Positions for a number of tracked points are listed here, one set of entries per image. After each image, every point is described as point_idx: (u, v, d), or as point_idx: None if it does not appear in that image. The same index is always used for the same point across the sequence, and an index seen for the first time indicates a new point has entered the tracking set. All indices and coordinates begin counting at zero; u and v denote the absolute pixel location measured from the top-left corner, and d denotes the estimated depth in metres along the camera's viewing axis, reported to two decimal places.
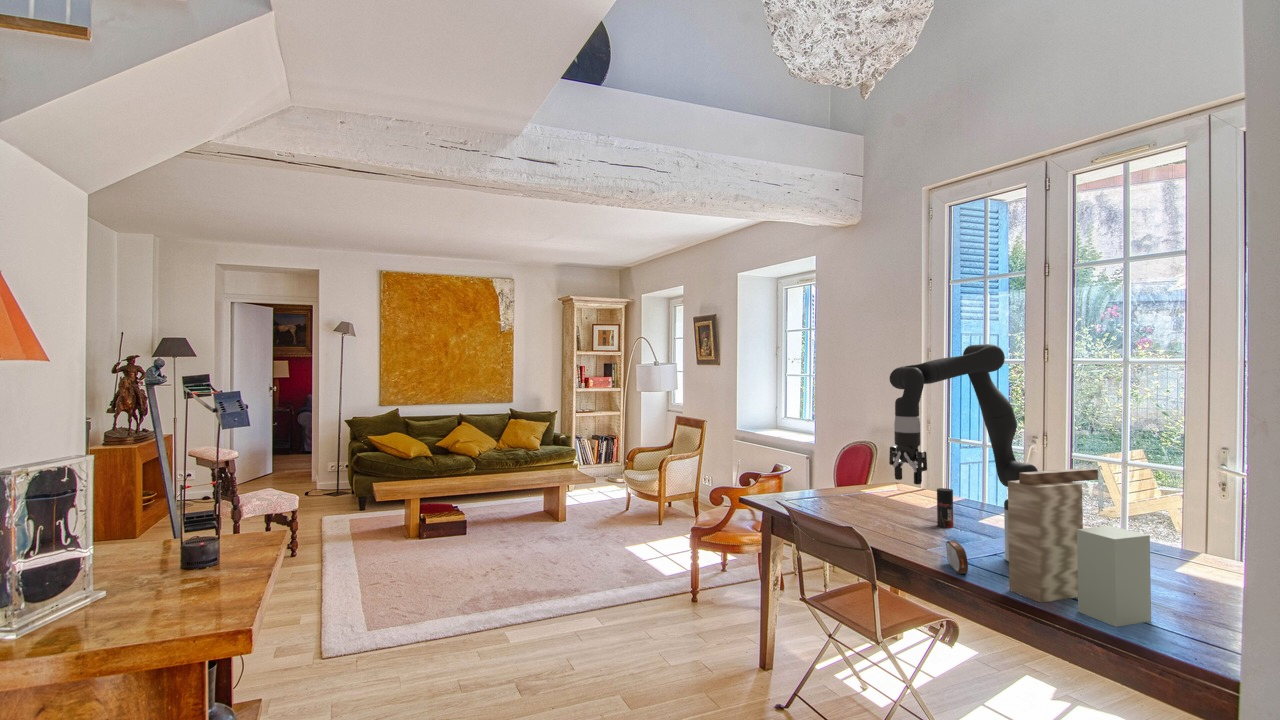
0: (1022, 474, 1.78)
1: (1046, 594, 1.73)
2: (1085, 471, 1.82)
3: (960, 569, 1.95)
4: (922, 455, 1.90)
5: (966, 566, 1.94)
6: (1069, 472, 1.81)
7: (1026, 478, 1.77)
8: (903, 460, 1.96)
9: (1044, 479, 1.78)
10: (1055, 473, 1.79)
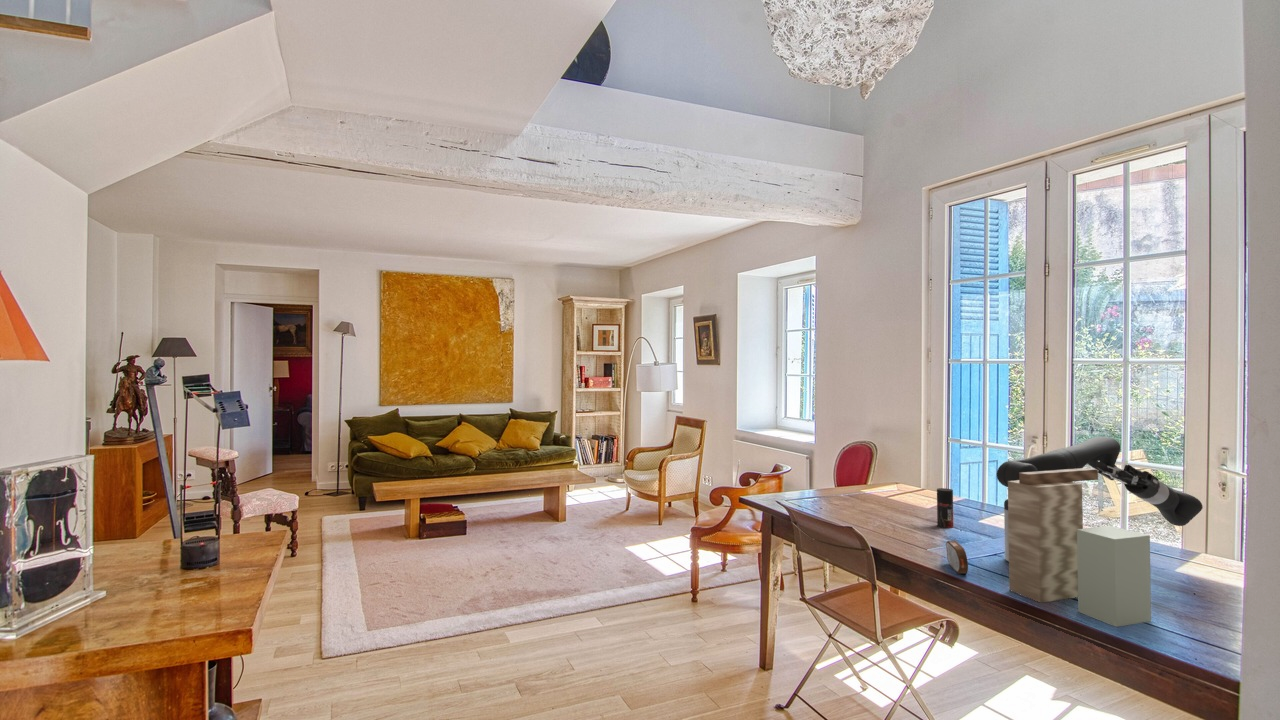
0: (1022, 474, 1.78)
1: (1046, 594, 1.73)
2: (1085, 471, 1.82)
3: (960, 569, 1.95)
4: None
5: (966, 566, 1.94)
6: (1069, 472, 1.81)
7: (1026, 478, 1.77)
8: (1127, 478, 1.89)
9: (1044, 479, 1.78)
10: (1055, 473, 1.79)
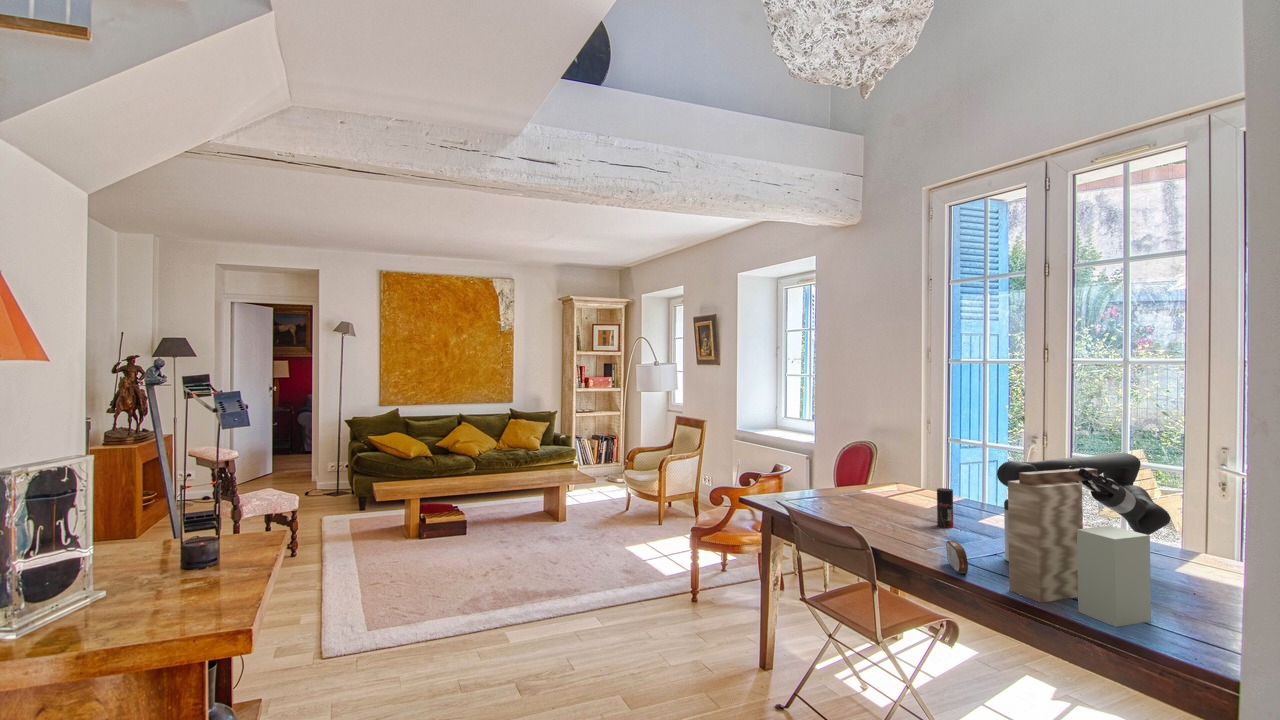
0: (1022, 474, 1.78)
1: (1046, 594, 1.73)
2: None
3: (960, 569, 1.95)
4: None
5: (966, 566, 1.94)
6: (1069, 472, 1.81)
7: (1026, 478, 1.77)
8: (1091, 485, 1.85)
9: (1044, 479, 1.78)
10: (1055, 473, 1.79)
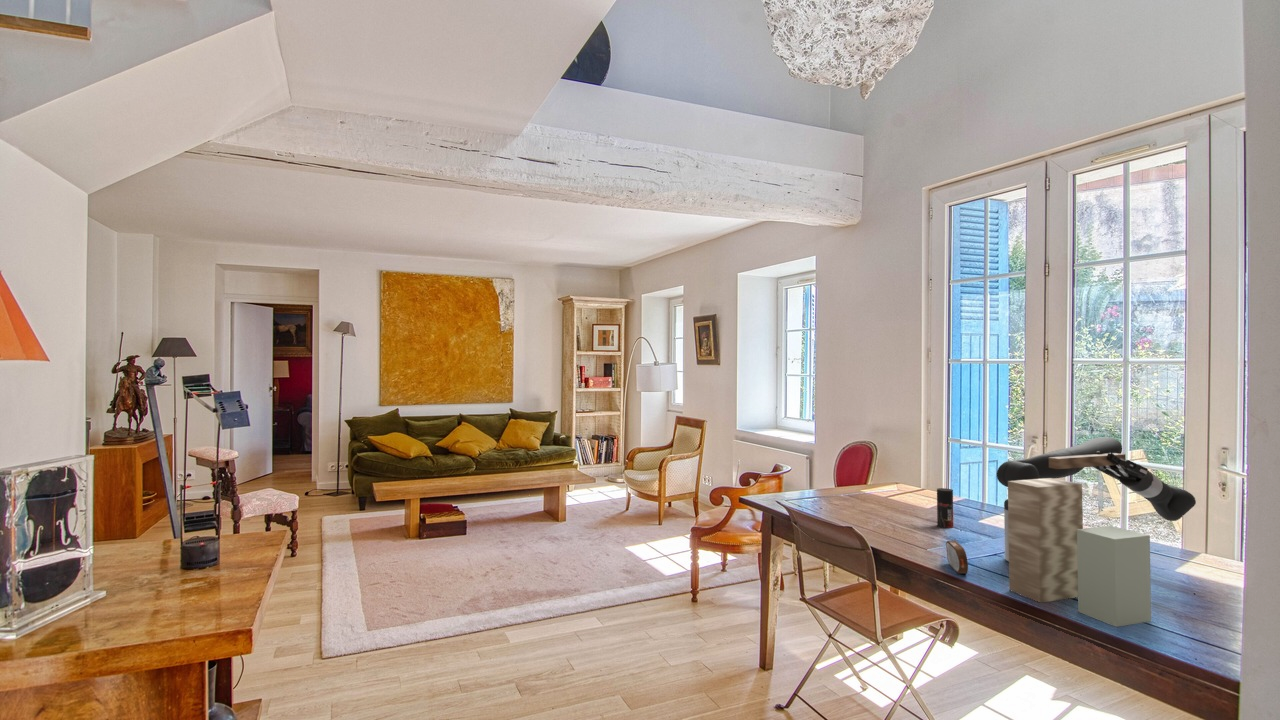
0: (1052, 459, 1.81)
1: (1046, 594, 1.73)
2: None
3: (960, 569, 1.95)
4: None
5: (966, 566, 1.94)
6: (1097, 457, 1.84)
7: (1055, 463, 1.80)
8: (1118, 470, 1.88)
9: (1074, 463, 1.81)
10: (1084, 458, 1.82)
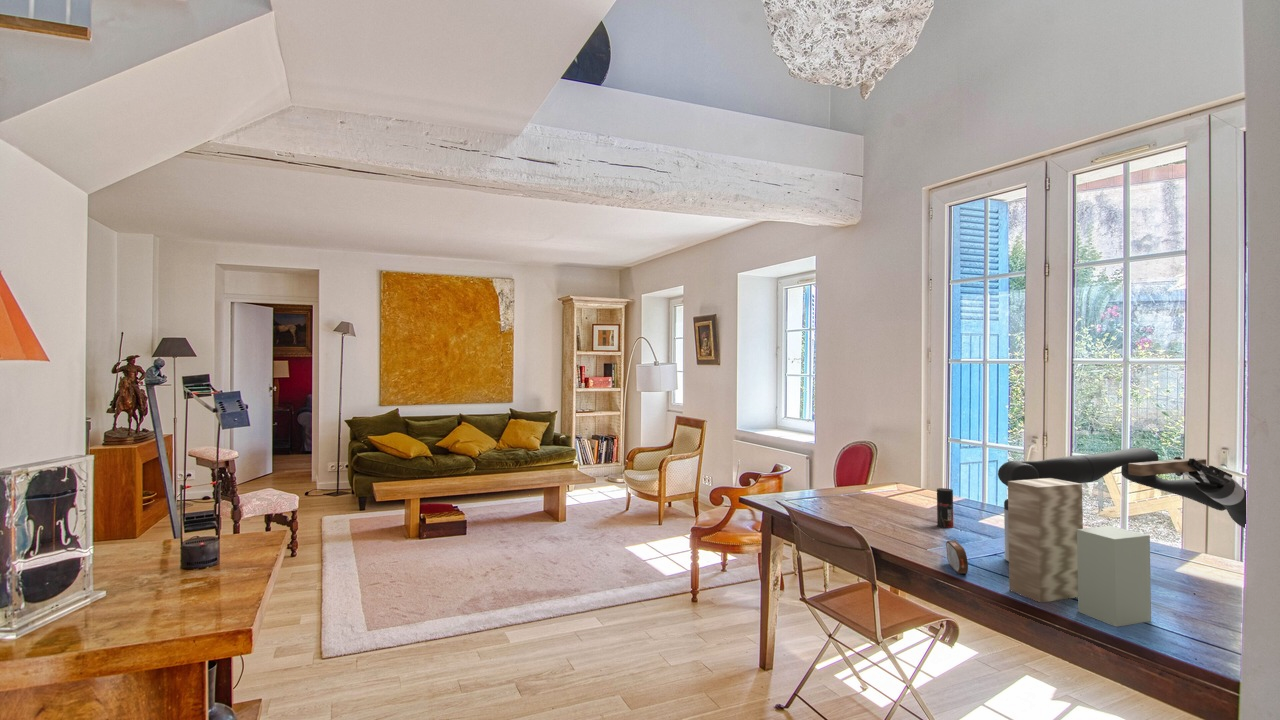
0: (1132, 465, 1.69)
1: (1046, 594, 1.73)
2: None
3: (960, 569, 1.95)
4: None
5: (966, 566, 1.94)
6: (1179, 462, 1.72)
7: (1137, 469, 1.68)
8: (1198, 476, 1.76)
9: (1155, 470, 1.69)
10: (1165, 463, 1.70)
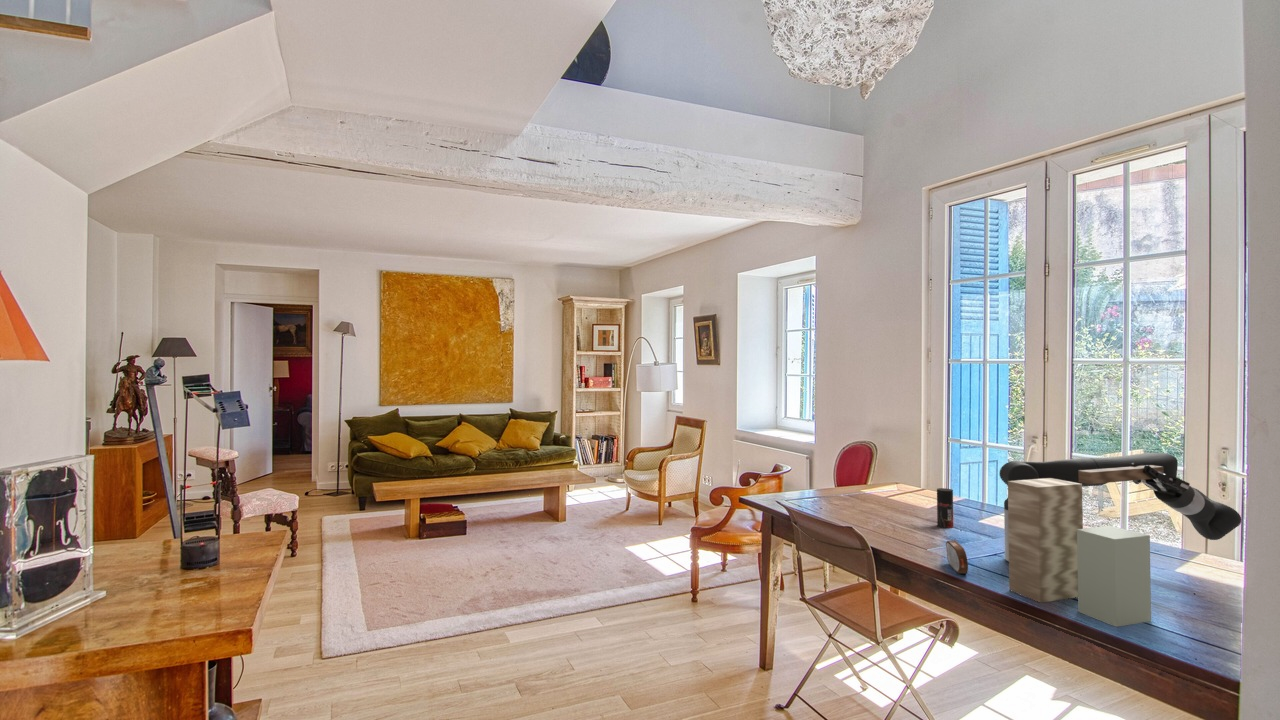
0: (1082, 472, 1.61)
1: (1046, 594, 1.73)
2: None
3: (960, 569, 1.95)
4: None
5: (966, 566, 1.94)
6: (1133, 470, 1.63)
7: (1087, 477, 1.60)
8: (1155, 484, 1.68)
9: (1107, 477, 1.61)
10: (1118, 471, 1.62)
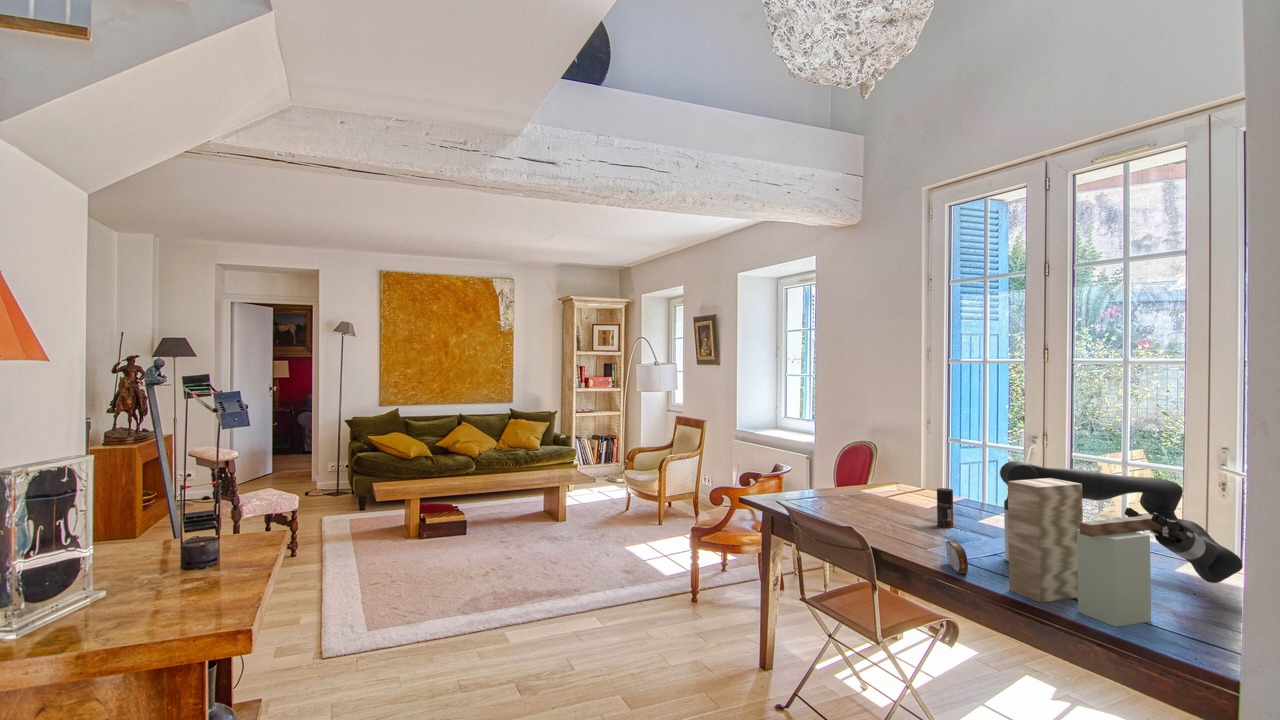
0: (1083, 524, 1.61)
1: (1046, 594, 1.73)
2: (1151, 520, 1.65)
3: (960, 569, 1.95)
4: None
5: (966, 566, 1.94)
6: (1134, 521, 1.63)
7: (1088, 529, 1.60)
8: (1157, 529, 1.67)
9: (1108, 529, 1.61)
10: (1119, 523, 1.62)
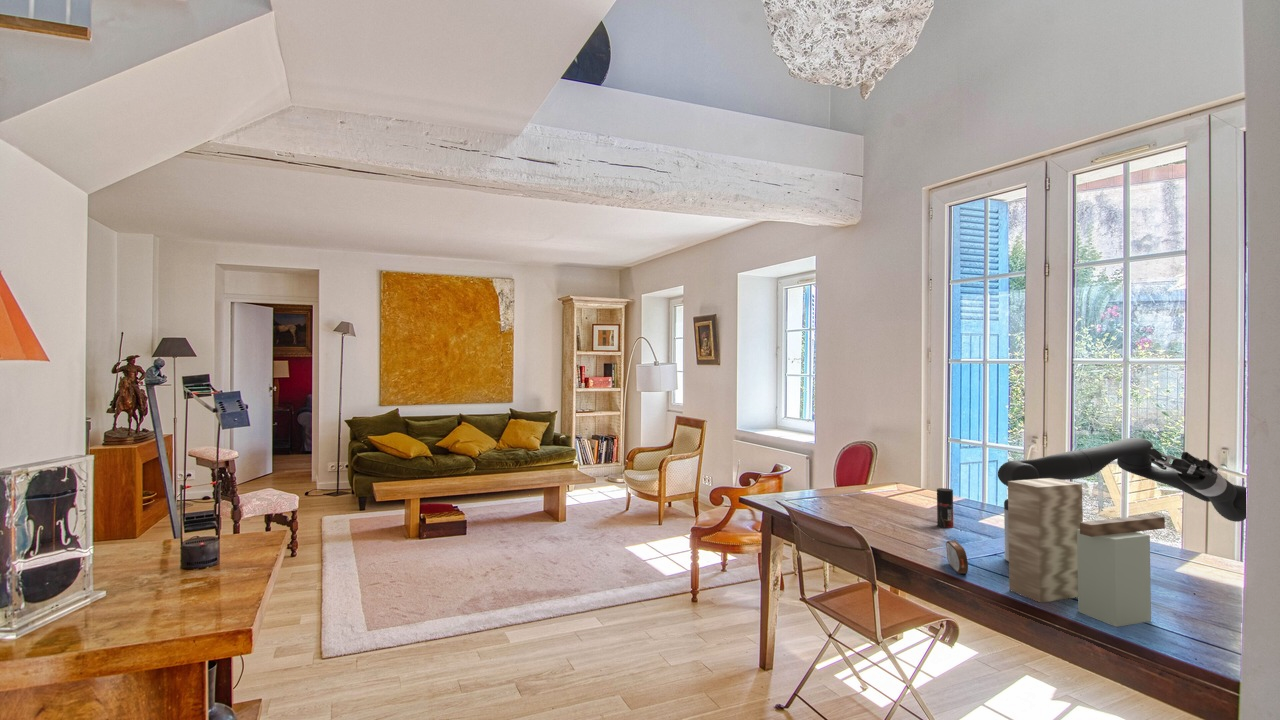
0: (1083, 524, 1.61)
1: (1046, 594, 1.73)
2: (1151, 520, 1.65)
3: (960, 569, 1.95)
4: None
5: (966, 566, 1.94)
6: (1134, 521, 1.63)
7: (1088, 529, 1.60)
8: (1182, 467, 1.76)
9: (1108, 529, 1.61)
10: (1119, 523, 1.62)
